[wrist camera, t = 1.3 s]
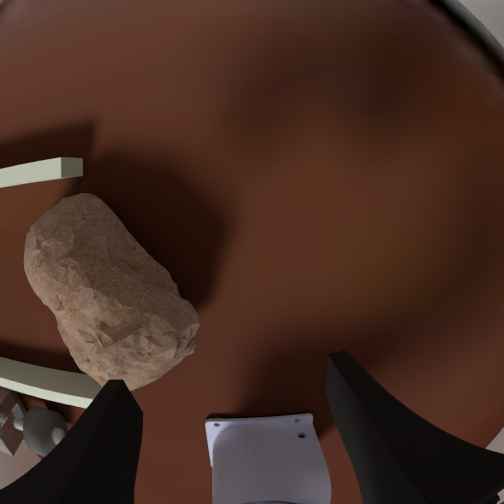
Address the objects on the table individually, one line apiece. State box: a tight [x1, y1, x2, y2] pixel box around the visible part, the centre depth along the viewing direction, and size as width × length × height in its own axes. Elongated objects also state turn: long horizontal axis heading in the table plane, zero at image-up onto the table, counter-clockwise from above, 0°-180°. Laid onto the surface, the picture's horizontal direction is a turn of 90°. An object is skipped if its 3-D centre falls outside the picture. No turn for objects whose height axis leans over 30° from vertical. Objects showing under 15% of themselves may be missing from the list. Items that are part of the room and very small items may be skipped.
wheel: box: [14, 406, 68, 456], centre depth 19 cm, size 6×5×5 cm
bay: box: [0, 157, 102, 408], centre depth 17 cm, size 16×18×3 cm
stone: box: [24, 193, 200, 391], centre depth 16 cm, size 12×9×10 cm
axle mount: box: [0, 386, 27, 456], centre depth 19 cm, size 2×6×6 cm, turn 179°
